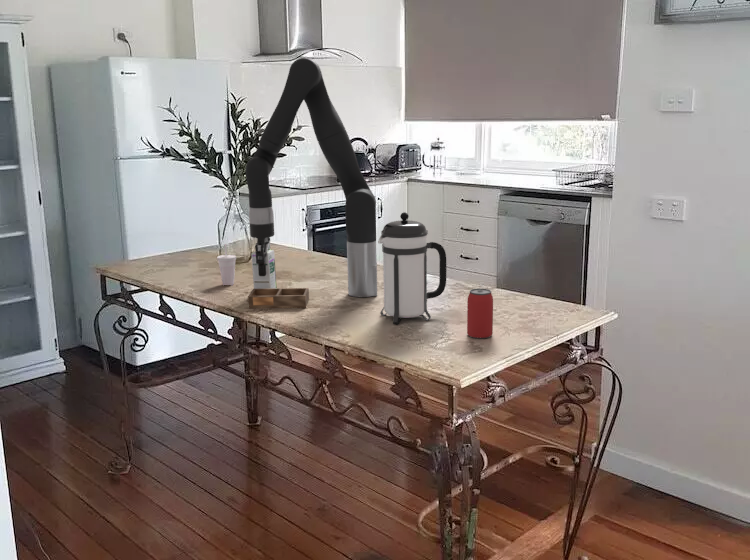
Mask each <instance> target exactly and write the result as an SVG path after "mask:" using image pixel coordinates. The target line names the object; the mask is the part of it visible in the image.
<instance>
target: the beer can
mask: <svg viewBox="0 0 750 560" xmlns="http://www.w3.org/2000/svg"><path fill="white" fill-rule="evenodd" d="M466 301H467V308H466V309H467V312H466V313H467V316H466V317H467V319H466V321H467V322H466V323H467V324H466V327H467V328H466V329H467V330H466V333H467V336H468V337H471V338H473V339H478V340H480V339H481V340H482V339H483V340H484V339H488V338H491V336H493V333H494V331H493V327H494V325H493V324H494V323H493V322H494V297H493V294H492V290H491V289H489V288H488V289H487V288H481V287H479V288H478V287H477V288H472V289H470V290H469V293H468V296H467V300H466Z"/></svg>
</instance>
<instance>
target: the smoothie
mask: <svg viewBox="0 0 750 560" xmlns="http://www.w3.org/2000/svg"><path fill="white" fill-rule="evenodd" d="M227 249H228V248H227V243H224V254H221V255H218V256H217V257H216V260H217V261H218V267H219V272H220V276H221V277H220V278H221V283H222V285H223V286H224V285H231V286H233V284H235V273H236V271H235V269H236V260H237V255H235V254H227V253H228V252H227V251H228V250H227Z"/></svg>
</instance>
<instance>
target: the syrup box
mask: <svg viewBox="0 0 750 560" xmlns="http://www.w3.org/2000/svg"><path fill="white" fill-rule="evenodd" d="M264 254H265V252H264ZM275 256H276V255H275V249H271V248H270V250H268V252H267V257H266V276H259V270H258V264H257V263H256V251H253V252H252V253H251V267H252V268H251V270H252V279H253V280H252V281H253V282H252V283H253V289H269V288H277V287H278V286H277V274H276V258H275ZM260 260H262V257H260Z"/></svg>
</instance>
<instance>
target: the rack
mask: <svg viewBox="0 0 750 560" xmlns="http://www.w3.org/2000/svg"><path fill="white" fill-rule="evenodd" d="M309 291H310V290H309V287H301V288H300V287H291V288H290V287H285V288H284V287H282V288H281V287H280V288H269V289H254V288H253V289H252V290H251V292H250V293H249V295H248V296H247V302H248V304H247V305H248V310H249V309H250V310H251V309H252V310H253V309H254V310H255V309H258V310H260V309H261V310H263V309H264V310H265V309H266V310H267V309H268V310H270V309H306V308H307V307H306V306H308V304H309V302H310V292H309Z"/></svg>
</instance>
